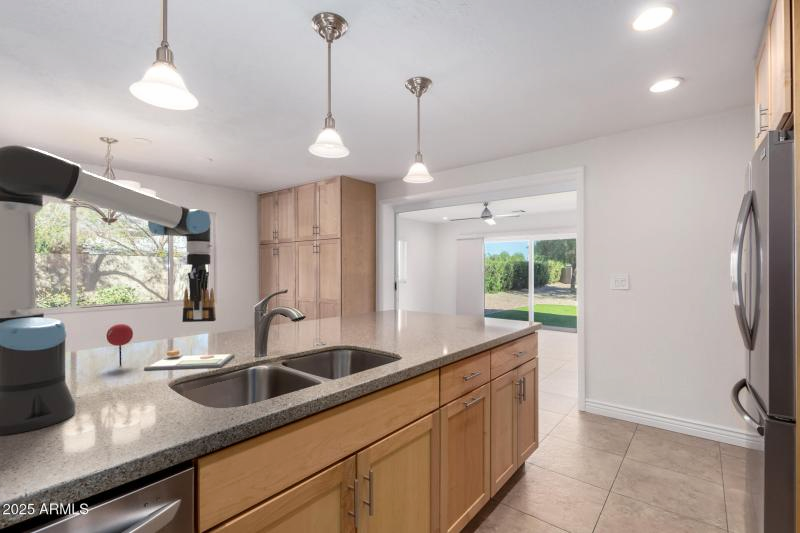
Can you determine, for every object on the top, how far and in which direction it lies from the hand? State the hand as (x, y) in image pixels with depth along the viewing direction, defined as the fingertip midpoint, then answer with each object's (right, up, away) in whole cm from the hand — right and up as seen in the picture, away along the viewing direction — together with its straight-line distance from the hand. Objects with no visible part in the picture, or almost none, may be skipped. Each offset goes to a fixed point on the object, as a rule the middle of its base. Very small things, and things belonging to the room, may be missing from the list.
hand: (199, 318), depth 135 cm
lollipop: (-29, -17, 0) cm, 34 cm away
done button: (-14, -15, +7) cm, 21 cm away
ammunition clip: (0, -1, 0) cm, 1 cm away
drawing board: (-4, -17, +3) cm, 18 cm away
